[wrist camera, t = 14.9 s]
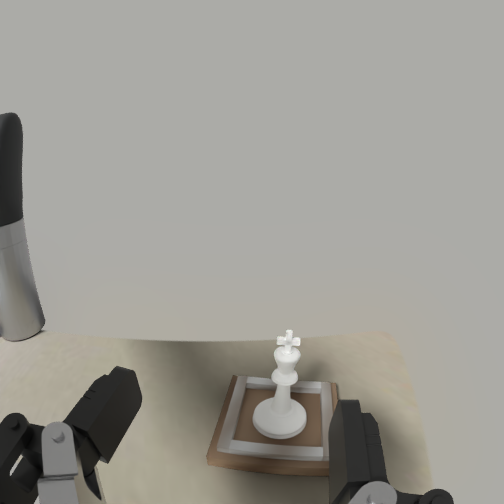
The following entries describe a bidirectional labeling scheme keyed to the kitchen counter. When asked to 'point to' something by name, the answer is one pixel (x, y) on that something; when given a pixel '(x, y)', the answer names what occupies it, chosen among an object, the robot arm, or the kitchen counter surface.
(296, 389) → the walnut board
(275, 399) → the chess piece
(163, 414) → the kitchen counter surface
